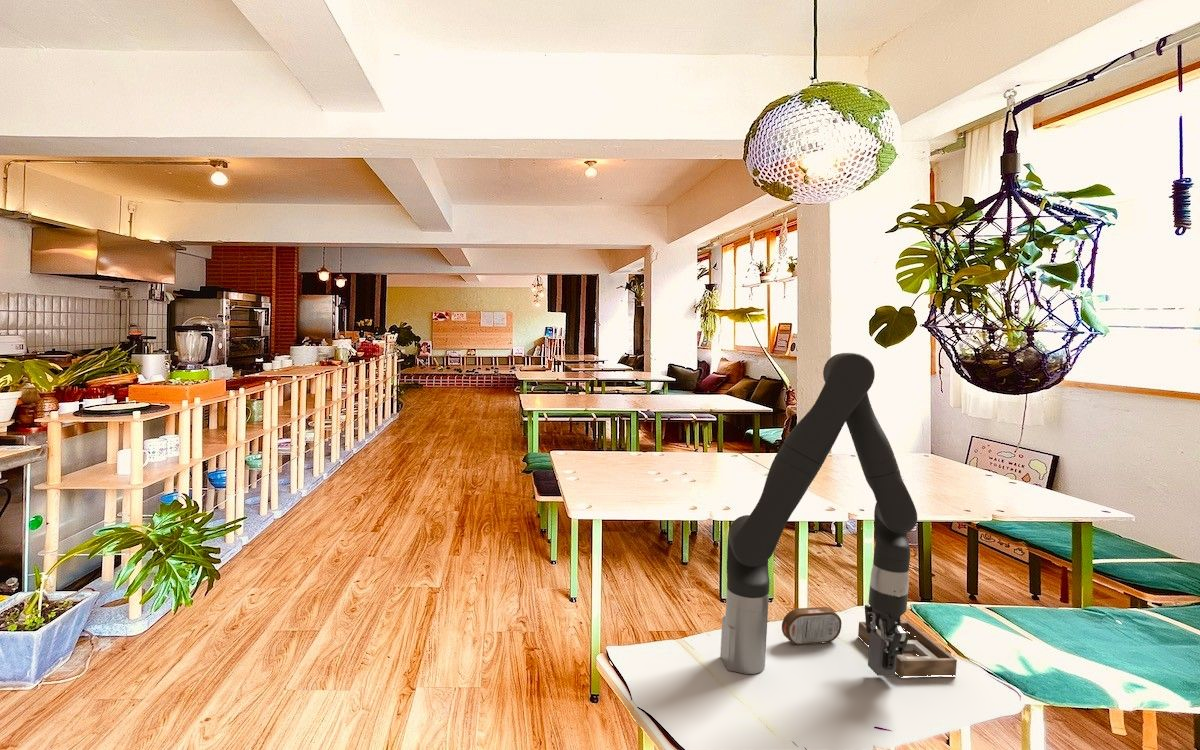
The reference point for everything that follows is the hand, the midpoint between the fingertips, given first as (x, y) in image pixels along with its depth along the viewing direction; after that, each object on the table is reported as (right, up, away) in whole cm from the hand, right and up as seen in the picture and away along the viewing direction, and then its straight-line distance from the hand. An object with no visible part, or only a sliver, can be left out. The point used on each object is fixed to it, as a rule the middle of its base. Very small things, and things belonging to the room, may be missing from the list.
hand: (882, 662), depth 133 cm
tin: (-10, -3, +15) cm, 19 cm away
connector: (0, -2, 0) cm, 2 cm away
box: (+10, -3, +10) cm, 15 cm away
